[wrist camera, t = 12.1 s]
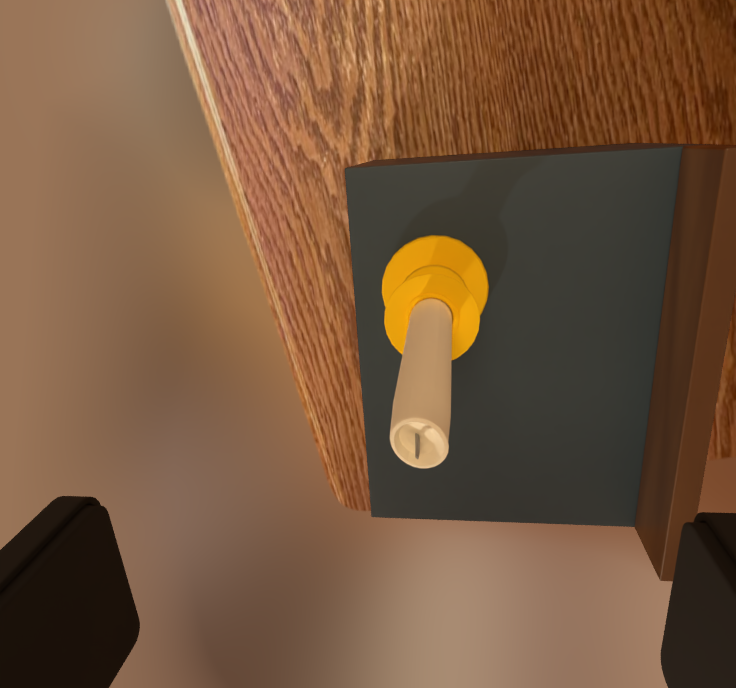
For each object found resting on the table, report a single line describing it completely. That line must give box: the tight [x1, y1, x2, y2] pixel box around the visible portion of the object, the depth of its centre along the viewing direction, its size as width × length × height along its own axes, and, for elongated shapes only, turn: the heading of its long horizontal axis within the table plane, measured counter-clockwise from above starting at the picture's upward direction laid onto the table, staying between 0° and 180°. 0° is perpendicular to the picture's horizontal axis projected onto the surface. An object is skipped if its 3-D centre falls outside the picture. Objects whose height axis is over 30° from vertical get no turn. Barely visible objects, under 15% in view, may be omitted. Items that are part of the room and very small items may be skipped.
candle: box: [382, 235, 489, 468], centre depth 20 cm, size 5×5×16 cm
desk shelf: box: [345, 143, 736, 581], centre depth 31 cm, size 16×20×14 cm
